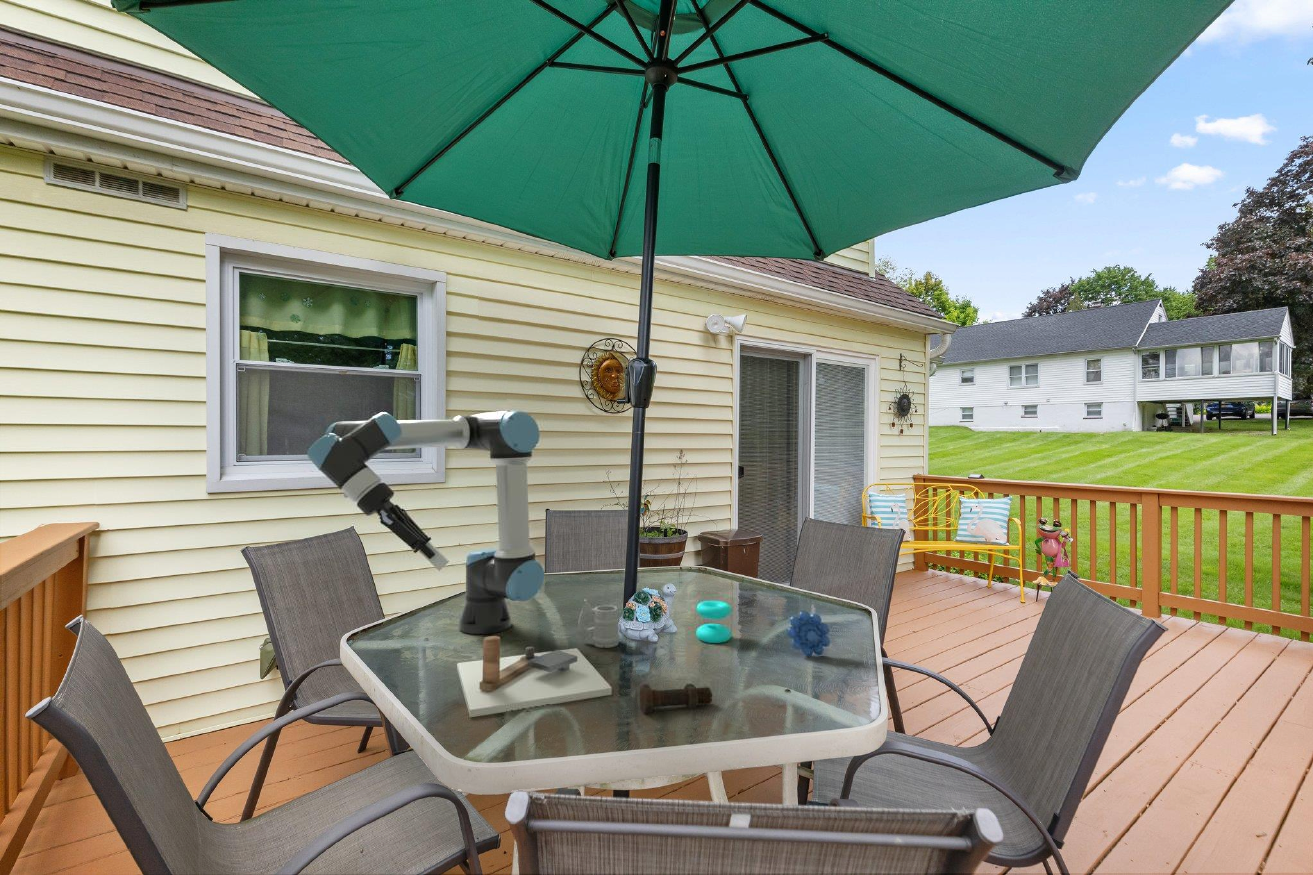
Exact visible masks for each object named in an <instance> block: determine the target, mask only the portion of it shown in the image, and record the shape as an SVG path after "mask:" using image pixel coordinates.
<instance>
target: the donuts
mask: <svg viewBox="0 0 1313 875" xmlns="http://www.w3.org/2000/svg"><path fill="white" fill-rule="evenodd" d="M731 612H732V607H731V605H730V604H729V603H727V602H724V601H720V600H705V601H704V600H703V601H701V602H699V603H698V604H697V606H696V613H698V615H699V616H700V617H701V618H705V619H709V620H722V619H725V618H727V617H728V616H730V615H731ZM695 632H696V633H695V634H696V637H697V639H699V640H700V641H702V642H704V643H710V644H722V642H723V643H726V642H729V640H730V639H731V637H732V632H731V630H730V628H728V627H727V626H725V625H723V624H719V623H705V624H703V625H700V626H699V627H698V628H697V629H696V631H695Z"/></svg>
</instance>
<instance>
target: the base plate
mask: <svg viewBox="0 0 1313 875" xmlns="http://www.w3.org/2000/svg"><path fill="white" fill-rule="evenodd" d="M558 651H561V652H565V653H568V654H571V655H575V656H577V662H574V663H572V664H570V669H568V670H565V671H561V670H558V669H557V670H554V671H552V672H546V671H543V670H540V669H537V668H534V667H531V668H529V669H528V670H526V671H524V672H523V673H521V674H519V675H518V676H516V677H514V678H513V679H511V680H509V681H508V682H506V683H504V684H503V685H501V686H499V687H498V688H496V689H494V690H493V691H491V692H490V691H485V690H480V689H479V684H480V682H481V681H482V679H483V659H480V660H471V661H465V662H457V663H456V671H457V674H458V677H459V682H460V685H461V690H462V694H463V697H464V701H465V704H466V708H467V712H468V715H469V716H468V717H469V718H474V717H481V716H488V715H493V714H499V713H500V714H501V713H505V712H506V711H507V712H512V711H511V710H513V711H517V710H518V709H519V710H523V709H522V708H525V709H530V708H529V707H532V708H535V707H534V706H538V707H543V706H542V705H544V706H546V705H545V704H550V705H554V704H556V705H557V704H562V703H563V704H564V703H570V702H574V701H580V700H586V699H593V698H598V697H599V698H600V697H604V696H605V697H606V696H611V695H612V694H613V692H612V686H611V685H610V684H609V683H608V681H606V679H604V677H603V676H602V675H601V674H600V673H599V671H597V669H595V667H594V666H593V665H592V664H591V662H589V661H588V659H587V658H586V657H585V656H584V655H583V653H581V651H580V650H579V649H578V648H576V647H575V648H569V649H561V650H558ZM550 652H552V651H544V652H543V651H542V652H534V655H536V656H541V655H544V654H547V653H550ZM523 656H526V654H520V655H511V656H506V657H504V656H503V657H500V671H501V670H503V669H504V668H506V667H508V666H510V665H511V664H513V663H515V662H517V661H519V660H520V658H521V657H523ZM519 710H518V711H519Z"/></svg>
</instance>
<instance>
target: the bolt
mask: <svg viewBox="0 0 1313 875" xmlns="http://www.w3.org/2000/svg"><path fill="white" fill-rule="evenodd" d="M712 701H713V692H712V690H711V688H710V687H705V686H704V687H697V686H696V685H695V684H693V683H686V684H685V685H684V687H683V688H676V689H675V688H672V689H671V688H670V689H652V687H651V686H650V684H649V683H648V684H642V686H641V687H640V689H639V705H640V709H641V713H643V714H644V715H651V714H652V711H653V708H657V709H658V708H660V707H674V706H685V708H687V709H688V710H694V709H696V708H697V707H698V705H701V704H710V703H711V702H712Z"/></svg>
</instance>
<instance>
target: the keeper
mask: <svg viewBox="0 0 1313 875" xmlns="http://www.w3.org/2000/svg"><path fill="white" fill-rule="evenodd" d="M549 652H550V653H547V654H544V655H541V656H539V657H536V658H533V659H530V660H528V666H531V667H534V668H537V669H540V670H543V671H546V672H552V671H554V670H557V669H558V670H561V671H565V670H568V669H570V664H572V663H574V662H577V656H575V655H571V654H568V653H565V652H561V651H559V650H558V649H555V650H553V651H552V652H551V651H549Z"/></svg>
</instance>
